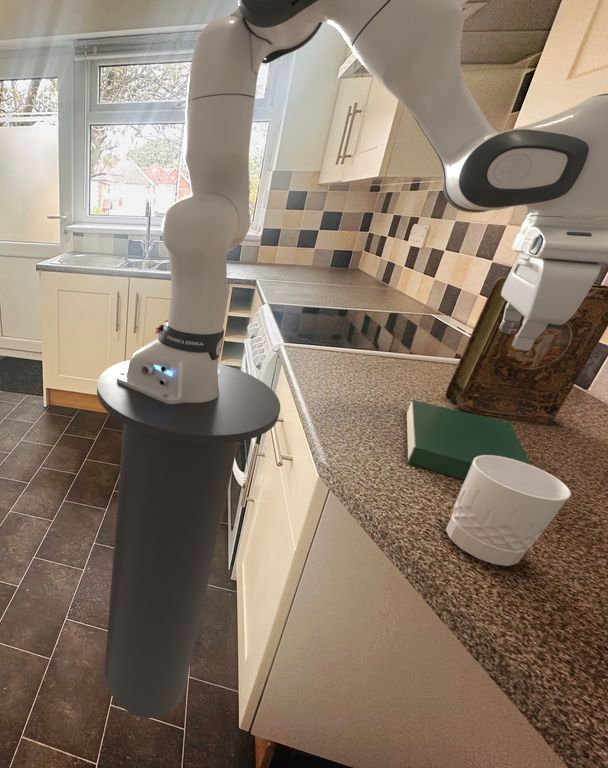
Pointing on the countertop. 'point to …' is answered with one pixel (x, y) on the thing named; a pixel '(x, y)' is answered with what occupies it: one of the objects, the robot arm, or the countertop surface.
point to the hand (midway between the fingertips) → (512, 340)
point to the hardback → (456, 439)
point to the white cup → (504, 508)
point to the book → (526, 361)
